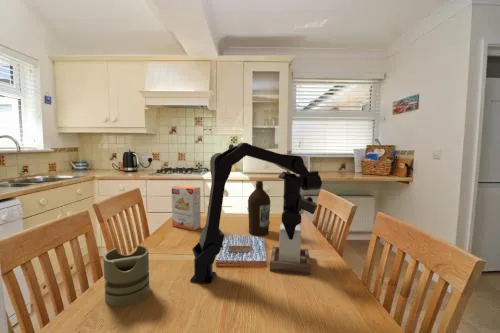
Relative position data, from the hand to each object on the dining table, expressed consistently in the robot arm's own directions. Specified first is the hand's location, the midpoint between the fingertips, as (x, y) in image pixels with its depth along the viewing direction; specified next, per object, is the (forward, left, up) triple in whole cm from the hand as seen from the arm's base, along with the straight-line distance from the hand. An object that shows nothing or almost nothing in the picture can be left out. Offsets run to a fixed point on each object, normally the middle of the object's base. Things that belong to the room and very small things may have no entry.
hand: (290, 234), depth 91 cm
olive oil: (+29, +15, -11) cm, 34 cm away
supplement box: (0, 0, -10) cm, 10 cm away
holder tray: (0, 0, -11) cm, 11 cm away
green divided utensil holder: (-27, +45, -11) cm, 54 cm away
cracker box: (+30, +52, -11) cm, 61 cm away
